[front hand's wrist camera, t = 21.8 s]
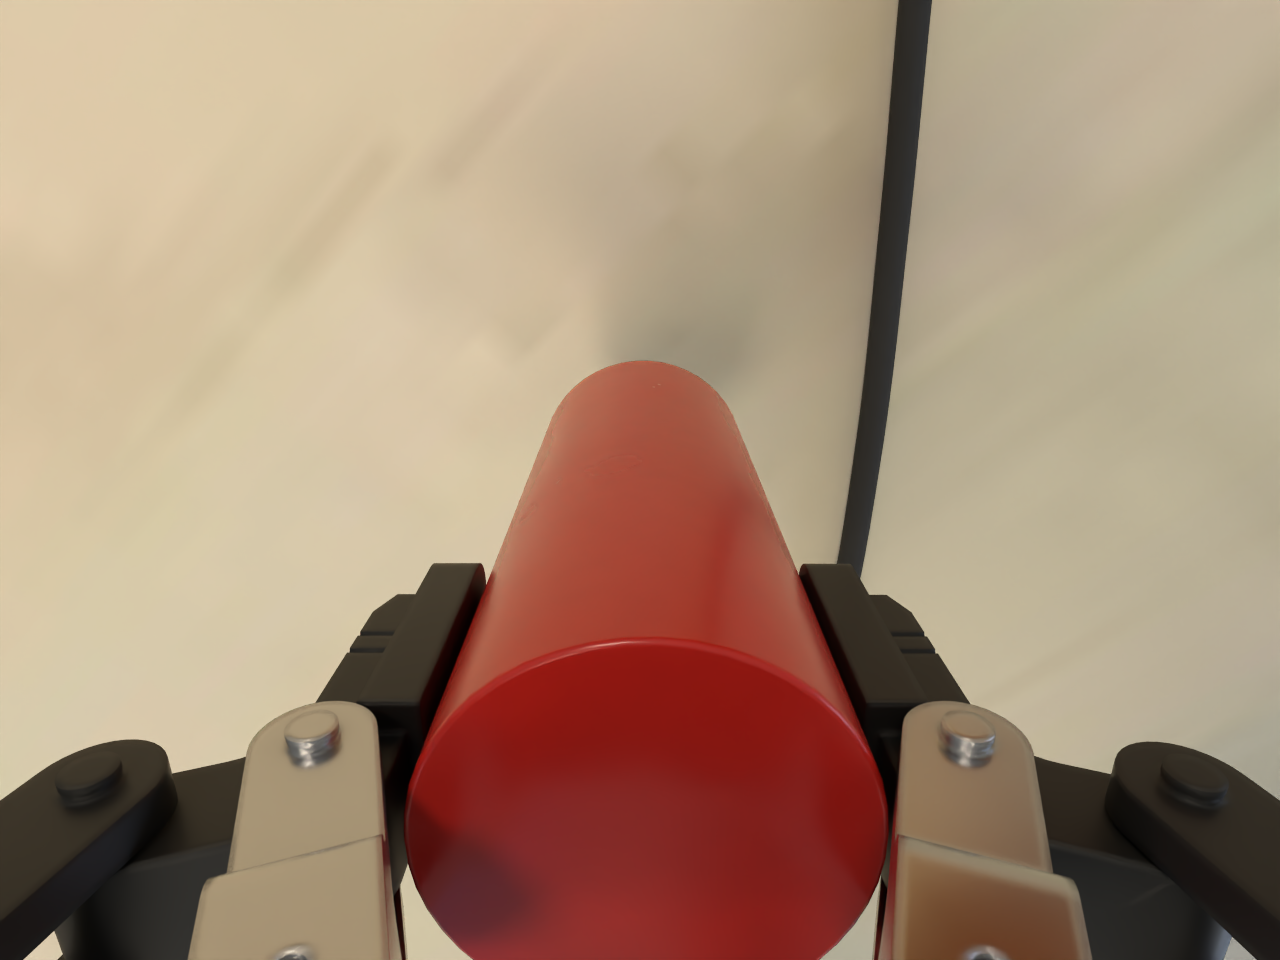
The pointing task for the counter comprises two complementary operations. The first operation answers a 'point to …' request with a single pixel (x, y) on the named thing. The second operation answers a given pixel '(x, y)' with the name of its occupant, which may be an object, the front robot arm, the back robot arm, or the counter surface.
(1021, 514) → the counter surface
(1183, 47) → the counter surface
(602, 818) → the canister
